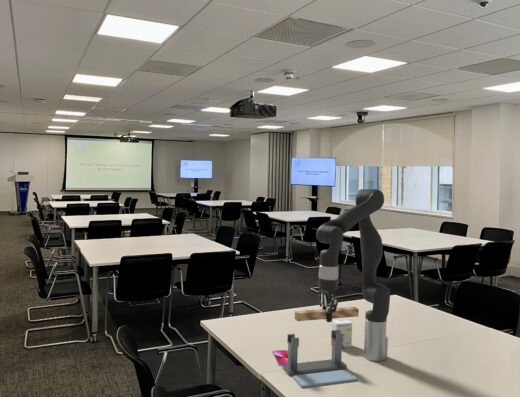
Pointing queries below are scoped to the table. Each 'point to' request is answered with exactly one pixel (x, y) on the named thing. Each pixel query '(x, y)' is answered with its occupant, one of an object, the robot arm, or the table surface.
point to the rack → (314, 366)
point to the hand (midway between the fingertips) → (327, 320)
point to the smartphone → (281, 357)
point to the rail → (321, 314)
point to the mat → (324, 378)
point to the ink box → (343, 331)
